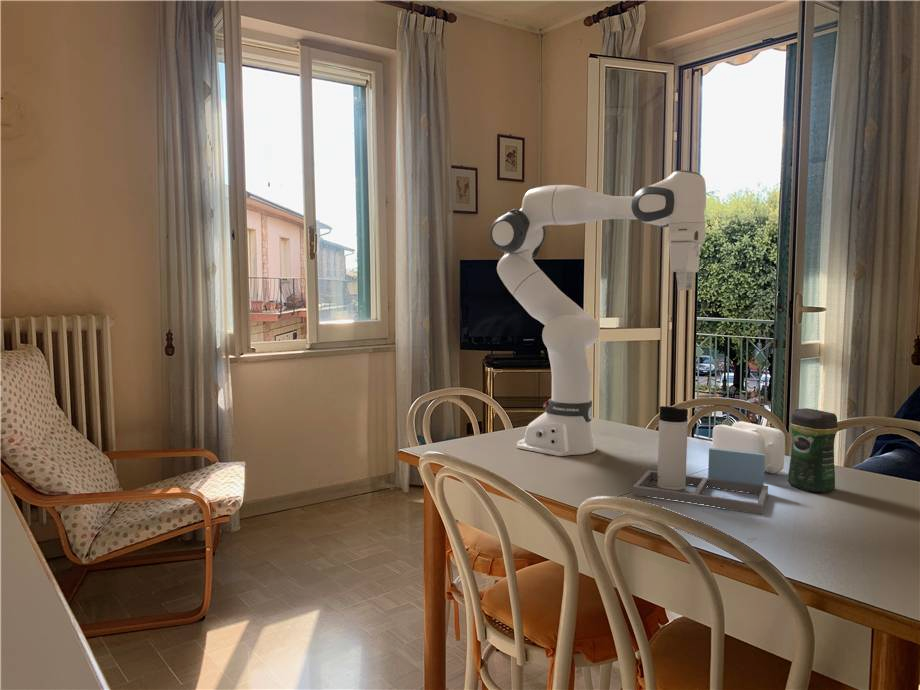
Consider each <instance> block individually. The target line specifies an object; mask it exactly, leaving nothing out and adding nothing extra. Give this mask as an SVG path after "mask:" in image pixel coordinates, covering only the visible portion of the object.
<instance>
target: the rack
mask: <svg viewBox="0 0 920 690" xmlns="http://www.w3.org/2000/svg"><path fill="white" fill-rule="evenodd" d="M764 468H765V454H760V453H751V452H742V451H733V450H724V449H715V448H712V447H710V448H709V449H708V469H707V471H708V474H707V477H704V476H703V477H702V476H695V475H689V474H688V475H687V474H686V484H693V485H698V486H696V488H695V490H694V491H693V493H690V492H677V491H670V490H663V489H657V487H655V488H654V487H647V485H648V484H649V483H650V482H651V481H652V480H651V479H654V480H653V481H656V480H658V470H649V469H648V470H647V471H646V472H645V473H644V474H643V475H642V476H641V477H640V478H639V479H638V480H637V482H635V484H634V485H633V486H632V496H635V495H639V496H638V497H642V496H650V497H657V498H664V499H670V500H678V501H684V502H691V503H697V504H704V505H709V506H715V507H714V508H716V507H720V508H719V509H722V508H725V509H724V510H729V509H732V510H731V511H736V510H738V511H737V512H742V511H745V512H744V513H749V512H750V514H757V515H762V514H763V512H764V508H765V504H766V501H767V499H766V498H768V493H769V485H765V472H764ZM650 480H651V481H650ZM649 481H650V482H649ZM648 482H649V483H648ZM647 483H648V484H647ZM646 484H647V485H646ZM693 485H692V486H693ZM707 486H708V487H715V488H720V489H719V490H722V489H727V490H726V491H729V490H734V491H733V492H736V491H743V492H742V493H744V492H749V493H748V494H751V493H756V494H755V495H758V494H760V495H759V496H758V497H759V498H758V500H757V502H754V501H748V500H747V501H745V500H739V499H733V498H732V499H731V498H726V497H725V498H724V497H719V496H712V495H704V493H705V492H706V490H707V488H706V487H707ZM715 488H714V489H715ZM705 489H706V490H705ZM704 491H705V492H704ZM703 492H704V493H703ZM702 494H703V495H702ZM709 506H708V507H709Z"/></svg>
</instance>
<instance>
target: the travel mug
mask: <svg viewBox="0 0 920 690" xmlns="http://www.w3.org/2000/svg"><path fill="white" fill-rule="evenodd" d="M688 414H689V413H688V409H687V408H677V407H675V406H665V405H664V406H659V418H658V419H659V421H658V422H659V423H658V447H657V449H658V450H657V451H658V453H657V455H658V456H657V471H658V481H657V486H656V489H663V490H670V491H677V492H684V493H686V485H685V484H686V475H687V457H688V456H687V451H688V448H687V447H688V426H689V425H688V422H689V420H688V419H689V418H688Z"/></svg>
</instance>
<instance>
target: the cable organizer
mask: <svg viewBox="0 0 920 690" xmlns="http://www.w3.org/2000/svg"><path fill="white" fill-rule="evenodd" d="M785 441H786V435H785V433H784V432H783V431H782V430H781V429H778V428H775V427H770V426H765V425H761V424H756V423H751V422H747V421H742V420H741V421H735V422H734V423H732V425H731V426H730V425H726V424H717V425H715V426H713V428H712V445H711V446H712V447H711V448H715V449H724V450H733V451H742V452H751V453H760V454H765V468H764V471H766V472H765V473H767V472H769V473H768V474H771V473H773V474H775V473H778V472H781V471H782V470H784V466H785V448H786V447H785V445H786V442H785Z"/></svg>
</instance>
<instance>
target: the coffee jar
mask: <svg viewBox="0 0 920 690" xmlns="http://www.w3.org/2000/svg"><path fill="white" fill-rule="evenodd" d="M789 425H790V430H791V436H792V437H791V438H792V441H791V442H792V443H791V449H790V450H791V452H790V460H789V466H788V467H789V468H788V477H787V483H788V484H789V486H793V487H795V488H797V487H798V489H801V490H804V491H807V492H814V493H830V492H831V491H833V490H835V488H836V471H835V438H836V435H837V433H838V431H839V430H838V429H839V425H838V417H837V415H836V414H835V413H833V412H828V411H823V410H820V409H813V408H807V407H806V408H795V409H794V410H793V412H792V414H791V419H790V424H789Z"/></svg>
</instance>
